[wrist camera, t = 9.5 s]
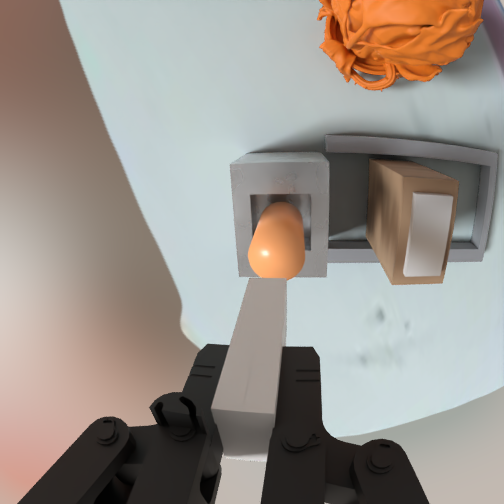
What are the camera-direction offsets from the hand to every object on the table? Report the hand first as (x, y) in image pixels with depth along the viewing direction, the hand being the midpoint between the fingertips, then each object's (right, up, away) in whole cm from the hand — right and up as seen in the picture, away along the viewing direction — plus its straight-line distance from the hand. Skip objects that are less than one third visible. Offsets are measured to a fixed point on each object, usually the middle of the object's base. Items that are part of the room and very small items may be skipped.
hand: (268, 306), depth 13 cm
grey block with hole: (+3, +8, +17) cm, 19 cm away
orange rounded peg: (+1, +4, +10) cm, 11 cm away
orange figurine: (+10, +22, +9) cm, 26 cm away
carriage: (+13, +8, +15) cm, 22 cm away
